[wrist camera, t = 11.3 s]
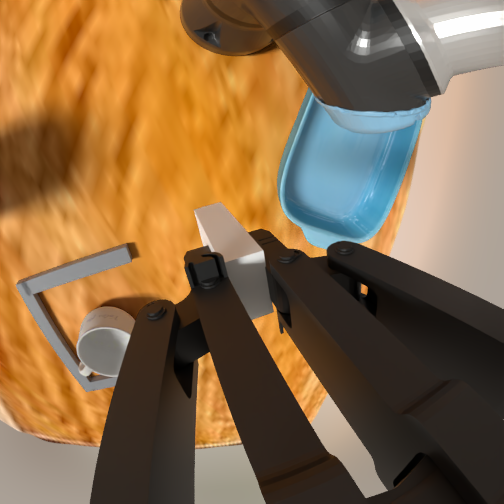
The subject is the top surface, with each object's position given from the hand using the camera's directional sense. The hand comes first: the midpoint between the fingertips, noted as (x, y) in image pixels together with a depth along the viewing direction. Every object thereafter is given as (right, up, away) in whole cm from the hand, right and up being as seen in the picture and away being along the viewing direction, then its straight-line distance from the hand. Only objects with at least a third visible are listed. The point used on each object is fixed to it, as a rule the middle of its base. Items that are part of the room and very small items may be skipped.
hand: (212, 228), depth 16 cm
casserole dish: (+17, +18, +29) cm, 38 cm away
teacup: (-23, -14, +29) cm, 40 cm away
